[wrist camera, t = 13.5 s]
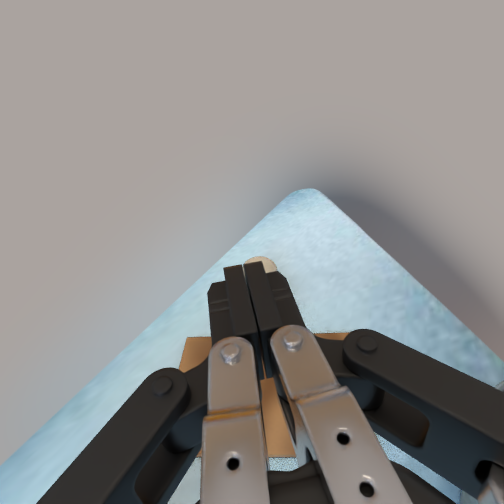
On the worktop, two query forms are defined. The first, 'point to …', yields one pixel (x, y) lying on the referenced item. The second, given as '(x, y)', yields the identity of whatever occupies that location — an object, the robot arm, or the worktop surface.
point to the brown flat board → (272, 414)
